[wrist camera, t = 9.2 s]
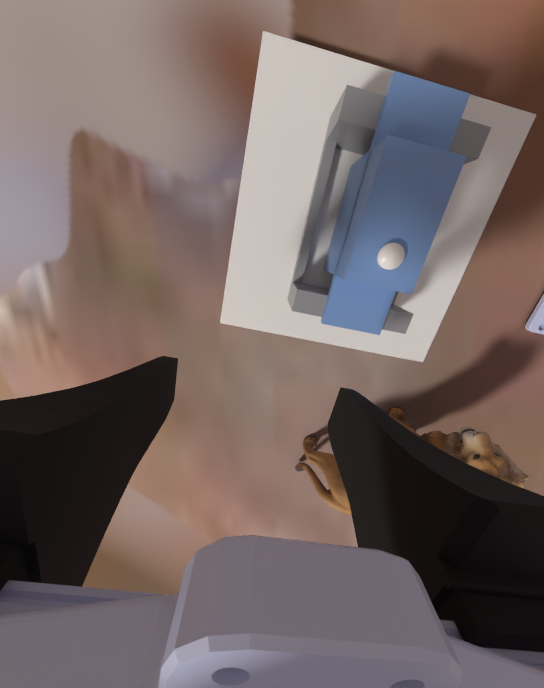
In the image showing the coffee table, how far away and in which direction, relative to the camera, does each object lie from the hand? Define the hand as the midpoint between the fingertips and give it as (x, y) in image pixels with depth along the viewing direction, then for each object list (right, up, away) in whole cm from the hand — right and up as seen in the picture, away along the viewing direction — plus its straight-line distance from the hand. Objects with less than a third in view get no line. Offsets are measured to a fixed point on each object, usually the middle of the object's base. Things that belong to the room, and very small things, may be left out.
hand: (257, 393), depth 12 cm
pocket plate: (+6, +10, +6) cm, 13 cm away
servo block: (+6, +10, +5) cm, 13 cm away
